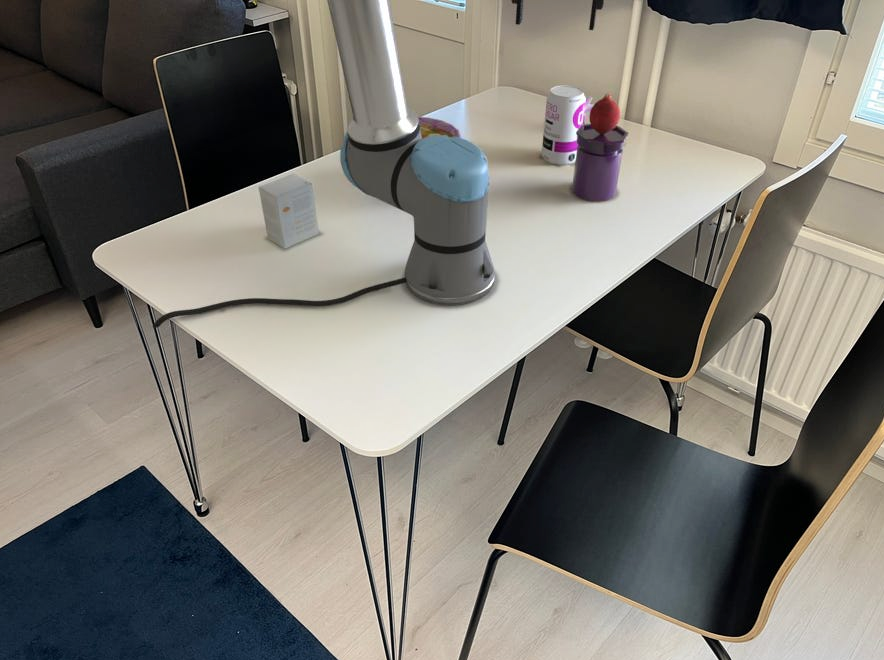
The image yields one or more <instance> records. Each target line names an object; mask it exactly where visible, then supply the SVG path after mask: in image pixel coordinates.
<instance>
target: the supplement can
mask: <svg viewBox="0 0 884 660" xmlns="http://www.w3.org/2000/svg"><path fill="white" fill-rule="evenodd" d="M585 100H586V96H585V93H584V90H583V89H582V88H580V87H578V86H574V85H563V84H562V85H556V86H553V87H551V88H550V91H549V93H548V94H547V96H546V102H545V112H544V113H545V114H544V123H543V135H542V147H541V157H542V158H543V159H544V161H545V162H547V163H549V164H552V165H557V166H566V165H571V164H574V163H575V160H576V152H577V145H578V144H577V141H576V140H577V135H576V132H577V130H578V129H579V128H580V127H581V125H583V116H584V108H585Z"/></svg>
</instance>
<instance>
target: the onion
mask: <svg viewBox="0 0 884 660" xmlns="http://www.w3.org/2000/svg"><path fill="white" fill-rule="evenodd" d="M588 118H589V124H591V126H592V127H593V128H594V130H595V131H596V132H598V133H599V134H600V135H604V134H606V133H608V132H609V131H611V130H612V129H613V128H615V127H616V125H617V126H618V124H619V122H620V119H621V109H620V107H619V104H617V102H616V101H615V100H614V99H612V94H611V93H610V92H607V93H605V95H604V96H603V97H602V98H601V99H599V100H598V101H597V102H594V105H593V107H592V109H591V111H590V113H589V117H588Z"/></svg>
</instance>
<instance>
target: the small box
mask: <svg viewBox="0 0 884 660" xmlns="http://www.w3.org/2000/svg"><path fill="white" fill-rule="evenodd" d="M258 191H259V192H258V193H259V198H260V203H261V209H262V214H263V220H264V225H265V231H266V237H267V238H268V239H269V240H270V241H271V242H274V243H275V244H276V245H278V246H279V247H281V248H283V250H284V249H287V248H289V247H291V246H295V245H296V244H299V243H301V242H303V241H306V240H309V239H310V238H312V237H314V236H316V235H319V233H320V232H319V231H320V230H319V225H318V223H319V222H318V216H317V210H316V209H317V208H316V201H315V200H316V199H315V193H314V192H315V191H314V185H313V182H311V181H309V180H308V179H306V178H304V177H302V176H300V175H299V174H297V173H292V174H289V175H287V176H284V177H281V178H278V179H276V180H273V181H270V182H268V183H265V184H263V185H260V186H258Z"/></svg>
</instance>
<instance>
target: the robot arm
mask: <svg viewBox="0 0 884 660" xmlns="http://www.w3.org/2000/svg"><path fill="white" fill-rule="evenodd" d="M326 1H327V5H328V10H329V14H330V19H331V23H332V27H333V31H334V32H333V33H334V38H335V41H336V45H337V51H338V54H339V60H340V63H341V67H342V68H341V69H342V72H343V73H342V74H343V76H344V81H345V87H346V91H347V95H348V99H349V104H350V108H351V112H352V113H351V114H352V117H351V118H350V120H349V121H348V123H347V125H346V133H345V135H344V136H343V138H342V141H343V142H344V143H343V145H341V146H340V153H339V155H340V157H339V158H340V159H339V161H340V165H341V169H342V171H343V173H344V176H345V177H346V179H347V180H348V181H349V183H350V184H351V185H352V186H354V187H355V188H356V189H358V190H360V191H361V192H362V193H364V194H365V195H367V196H370V197H372V198H375V199H376V200H379V201H381V202H384V203H386V204H387V205H390V206H392V207H394V208H396V209H398V210H400V211H403V212H404V213H407V214H409V215H411V216H412V218H413V233H414V234H413V235H414V238H413V243H412V245H411V249H410V252H409V254H408V257H407V261H406V264H405V267H404V277H401V278H398V279H397V278H396V279H394V280H390V281H386V282H382V283H378V284H374V285H371V286H368V287H365V288H364V287H363V288H362V289H358V290H357V291H354V292H351V293H350V294H346V295H344V296H341V297H337V298H333V299H325V300H307V299H289V298H287V299H286V298H268V297H267V298H266V297H265V298H264V297H260V298H259V297H251V298H239V299H233V300H226V301H222V302H218V303H213V304H210V305H205V306H202V307H197V308H189V309H181V310H179V309H178V310H174V311H170V312H167V313H165V314H163V315H161V316H160V317H159V318H158V319H157V320H155V322H154V323H153V325H152V328H154V329H156V328H159V327H160V326H161V325H162V324H163V323H165V322H166V321H168V320H170V319H172V318H177V317H185V316H194V315H200V314H203V313H208V312H211V311H212V312H213V311H216V310H220V309H224V308H228V307H235V306H241V305H255V304H256V305H257V304H258V305H260V304H261V305H262V304H263V305H281V306H302V307H328V306H335V305H339V304H340V305H341V304H342V303H347V302H349V301H352V300H354V299H356V298H359V297H361V296H363V295H366V294H369V293H373V292H376V291H379V290H384V289H387V288H391V287H396V286H399V285H403V284H405V287H406V289H407V290H408V292H409V293H411V295H413V296H415V297H416V298H418V299H420V300H422V301H425V302H426V303H430V304H435V305H440V306H441V305H442V306H459V305H464V304H469V303H473V302H476V301H478V300H480V299H482V298H484V297H485V296H486V295H488V294H489V293H490V292H491V291H492V289H493V287H494V285H495V277H496V276H495V267H494V263H493V259H492V257H491V255H490V250H489V247H488V245H487V242H486V234H487V233H486V232H487V231H486V230H487V215H488V201H489V200H488V199H489V187H490V176H489V162H488V159H487V156H486V155H485V153H484V151H483V150H482V149H481V148H480V147H479V146H477V144H475V143H473V142H472V141H470V140H467V139H466V138H462V137H461V138H459V137H455V136H453V137H451V138H450V137H448V136H447V135H436V136H430V137H426V138H424V139H422V137H421V131H420V125H419V118H418V117H419V115H418V114H417V112H416V111H415V110H413V109H412V108H411V107H408V104H407V98H406V91H405V85H404V80H403V73H402V69H401V62H400V55H399V50H398V44H397V38H396V31H395V25H394V19H393V13H392V7H391V2H390V1H391V0H326ZM510 1H511V4H514V5H516V11H515V25H521V23H522V22H523V15H524V14H523V13H524V12H523V11H524V0H510ZM604 4H605V0H592V2H591V10H590V19H589V20H590V21H589V27H588V31H594V29H595V25H596V18H597V11H601V10H603V7H604Z"/></svg>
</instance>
